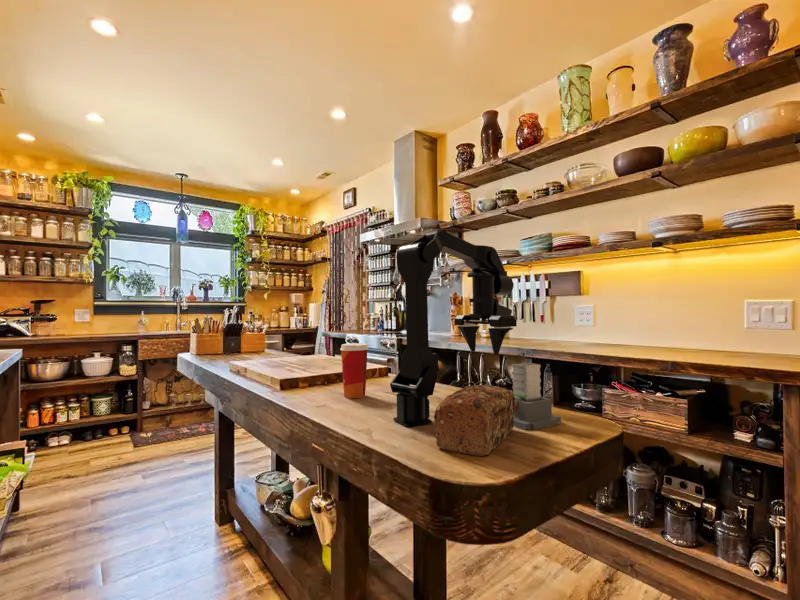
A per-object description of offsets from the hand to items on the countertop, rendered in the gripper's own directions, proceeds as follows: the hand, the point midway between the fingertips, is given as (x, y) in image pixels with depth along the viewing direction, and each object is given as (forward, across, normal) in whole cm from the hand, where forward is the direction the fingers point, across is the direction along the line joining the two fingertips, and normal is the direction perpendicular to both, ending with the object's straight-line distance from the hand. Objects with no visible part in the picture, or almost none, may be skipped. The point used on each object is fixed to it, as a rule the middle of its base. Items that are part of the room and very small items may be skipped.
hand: (484, 353), depth 107 cm
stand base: (+13, -18, +4) cm, 23 cm away
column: (+9, -18, +4) cm, 21 cm away
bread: (+13, -22, +21) cm, 33 cm away
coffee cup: (+13, +25, +27) cm, 39 cm away
